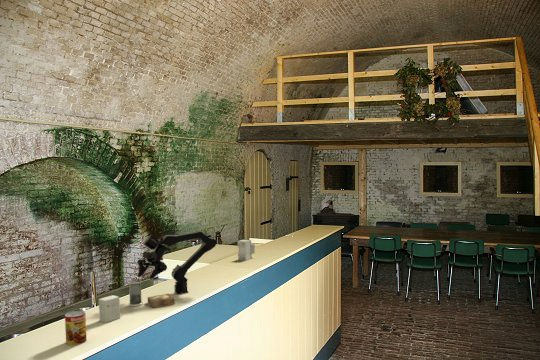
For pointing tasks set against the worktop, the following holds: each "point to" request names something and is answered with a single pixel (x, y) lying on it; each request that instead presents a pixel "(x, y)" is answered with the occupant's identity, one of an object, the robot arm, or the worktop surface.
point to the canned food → (75, 327)
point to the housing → (135, 293)
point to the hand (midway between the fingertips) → (144, 277)
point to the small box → (109, 308)
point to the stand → (161, 300)
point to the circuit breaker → (245, 250)
